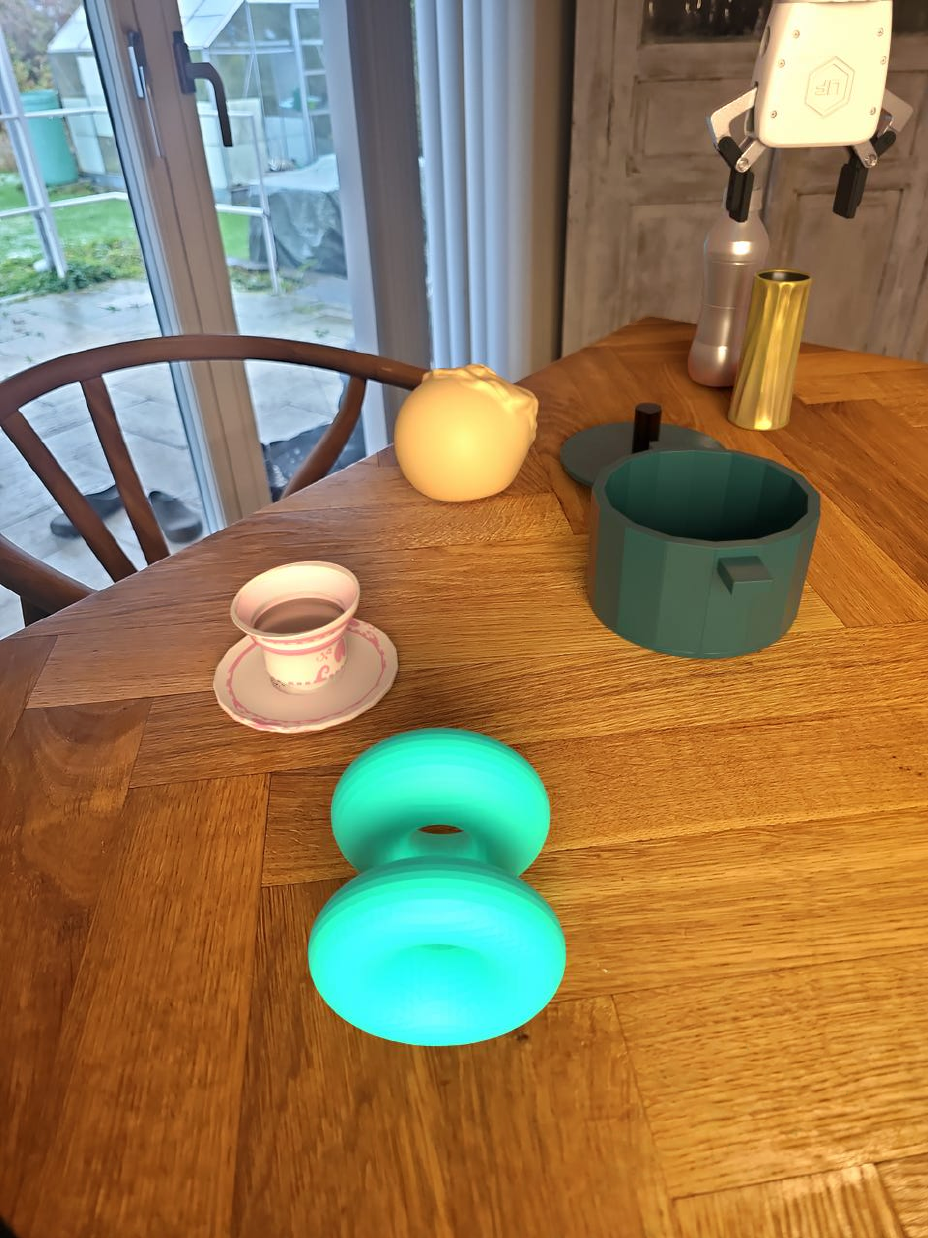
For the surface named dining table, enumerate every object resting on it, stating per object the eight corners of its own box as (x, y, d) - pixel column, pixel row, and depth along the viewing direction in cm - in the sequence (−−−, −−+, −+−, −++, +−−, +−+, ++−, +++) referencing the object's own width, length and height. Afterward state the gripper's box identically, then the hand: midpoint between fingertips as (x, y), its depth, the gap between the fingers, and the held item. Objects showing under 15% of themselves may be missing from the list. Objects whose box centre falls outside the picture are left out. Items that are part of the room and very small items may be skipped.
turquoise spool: (321, 1062, 35) (283, 913, 29) (347, 864, 43) (322, 716, 37) (564, 1058, 35) (575, 906, 29) (544, 859, 43) (550, 710, 37)
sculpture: (554, 478, 78) (557, 362, 72) (471, 530, 70) (467, 405, 64) (458, 448, 84) (454, 338, 78) (373, 493, 77) (361, 376, 70)
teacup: (348, 755, 49) (335, 673, 46) (176, 713, 53) (151, 633, 49) (426, 638, 58) (421, 561, 55) (275, 608, 62) (260, 534, 58)
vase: (746, 404, 91) (770, 263, 82) (800, 419, 87) (830, 273, 79) (715, 421, 87) (736, 276, 79) (769, 437, 84) (798, 286, 75)
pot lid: (701, 428, 86) (708, 373, 83) (753, 499, 73) (765, 437, 70) (548, 437, 85) (549, 382, 82) (575, 509, 73) (577, 448, 69)
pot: (742, 524, 70) (759, 426, 65) (847, 677, 53) (881, 562, 49) (566, 535, 69) (570, 437, 64) (618, 693, 53) (629, 578, 48)
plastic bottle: (698, 369, 100) (723, 180, 88) (754, 380, 97) (788, 185, 85) (675, 386, 96) (698, 190, 84) (733, 398, 92) (765, 195, 81)
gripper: (741, -20, 63) (707, 229, 73) (968, -26, 64) (904, 222, 73) (710, -17, 69) (683, 213, 79) (918, -22, 70) (865, 206, 80)
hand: (790, 217), depth 76 cm, fingers open, 9 cm apart
